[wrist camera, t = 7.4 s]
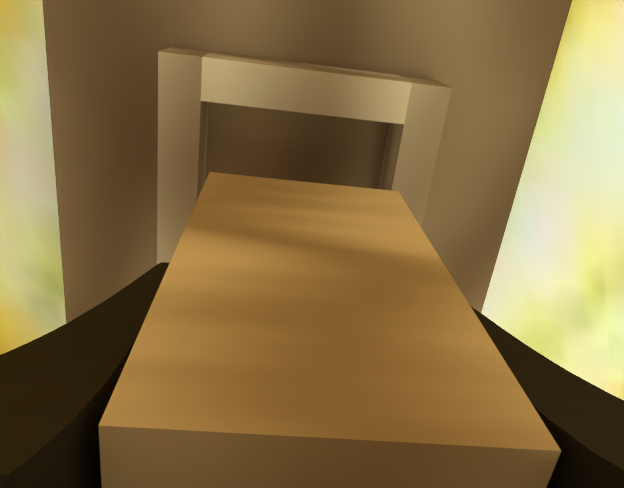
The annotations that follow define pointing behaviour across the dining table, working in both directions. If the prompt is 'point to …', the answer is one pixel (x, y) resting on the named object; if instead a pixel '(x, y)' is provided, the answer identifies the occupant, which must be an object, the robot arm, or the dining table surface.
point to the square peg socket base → (289, 117)
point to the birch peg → (315, 356)
